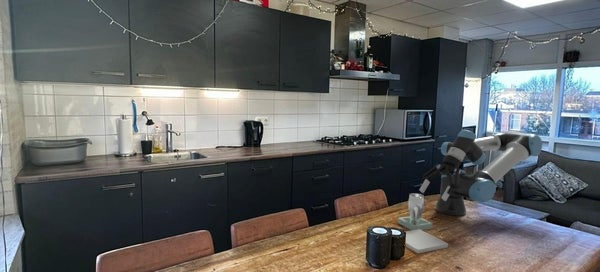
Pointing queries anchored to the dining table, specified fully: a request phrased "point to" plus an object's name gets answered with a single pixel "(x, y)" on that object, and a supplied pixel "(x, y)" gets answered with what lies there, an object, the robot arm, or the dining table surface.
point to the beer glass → (415, 208)
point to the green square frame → (422, 226)
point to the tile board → (423, 241)
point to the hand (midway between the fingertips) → (431, 195)
